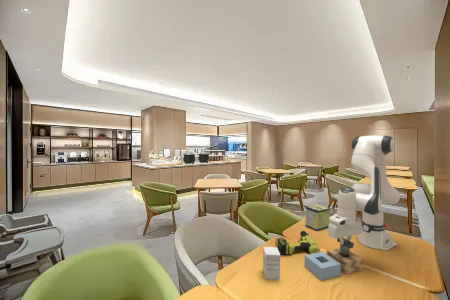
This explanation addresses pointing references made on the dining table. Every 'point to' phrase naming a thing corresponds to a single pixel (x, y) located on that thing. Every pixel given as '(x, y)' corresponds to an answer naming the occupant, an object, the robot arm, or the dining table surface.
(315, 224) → the protein box
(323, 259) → the block
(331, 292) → the dining table surface
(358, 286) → the dining table surface
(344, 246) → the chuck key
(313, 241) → the cordless drill
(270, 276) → the supplement box
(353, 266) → the stand
